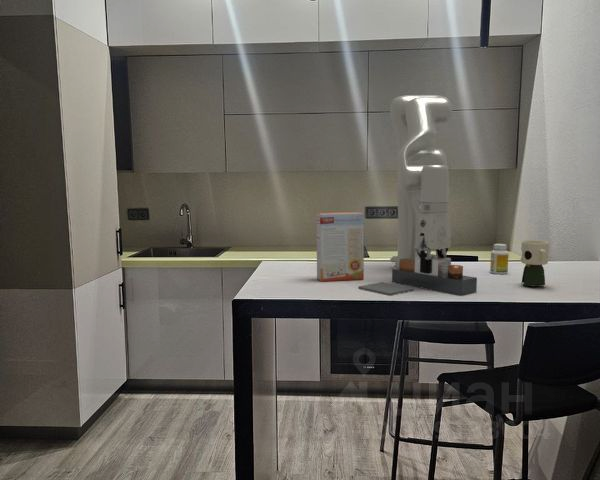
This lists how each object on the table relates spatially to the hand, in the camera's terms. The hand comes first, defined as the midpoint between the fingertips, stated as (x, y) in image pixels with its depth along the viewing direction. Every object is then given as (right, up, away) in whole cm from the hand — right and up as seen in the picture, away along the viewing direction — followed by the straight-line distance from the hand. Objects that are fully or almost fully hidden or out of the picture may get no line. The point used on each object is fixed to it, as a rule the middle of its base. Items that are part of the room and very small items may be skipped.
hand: (432, 271), depth 143 cm
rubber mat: (-14, -5, -3) cm, 15 cm away
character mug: (+29, -5, +1) cm, 30 cm away
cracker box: (-26, -4, +13) cm, 29 cm away
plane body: (0, -5, 0) cm, 5 cm away
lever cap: (0, -1, 0) cm, 1 cm away
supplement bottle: (+28, -2, +23) cm, 36 cm away
